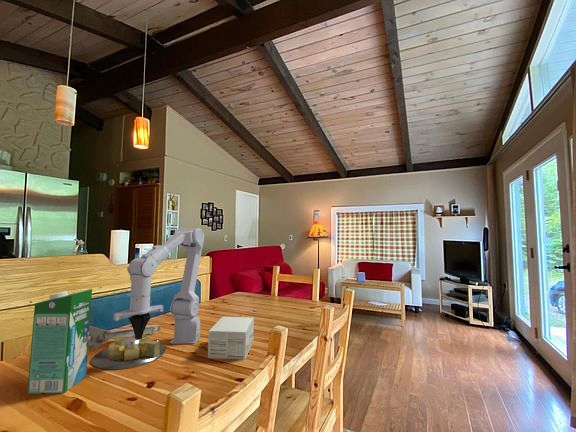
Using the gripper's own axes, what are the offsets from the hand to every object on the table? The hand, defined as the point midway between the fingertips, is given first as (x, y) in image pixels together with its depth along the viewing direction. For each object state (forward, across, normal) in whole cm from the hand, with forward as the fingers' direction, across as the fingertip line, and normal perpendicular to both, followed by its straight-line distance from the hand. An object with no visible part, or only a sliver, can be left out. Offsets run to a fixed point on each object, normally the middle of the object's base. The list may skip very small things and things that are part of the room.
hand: (138, 338), depth 90 cm
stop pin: (+8, +7, +2) cm, 10 cm away
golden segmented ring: (+7, +2, +7) cm, 10 cm away
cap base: (+8, +1, +9) cm, 12 cm away
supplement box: (+8, +28, -13) cm, 32 cm away
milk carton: (+8, -19, +2) cm, 21 cm away
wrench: (+8, +4, +24) cm, 26 cm away
